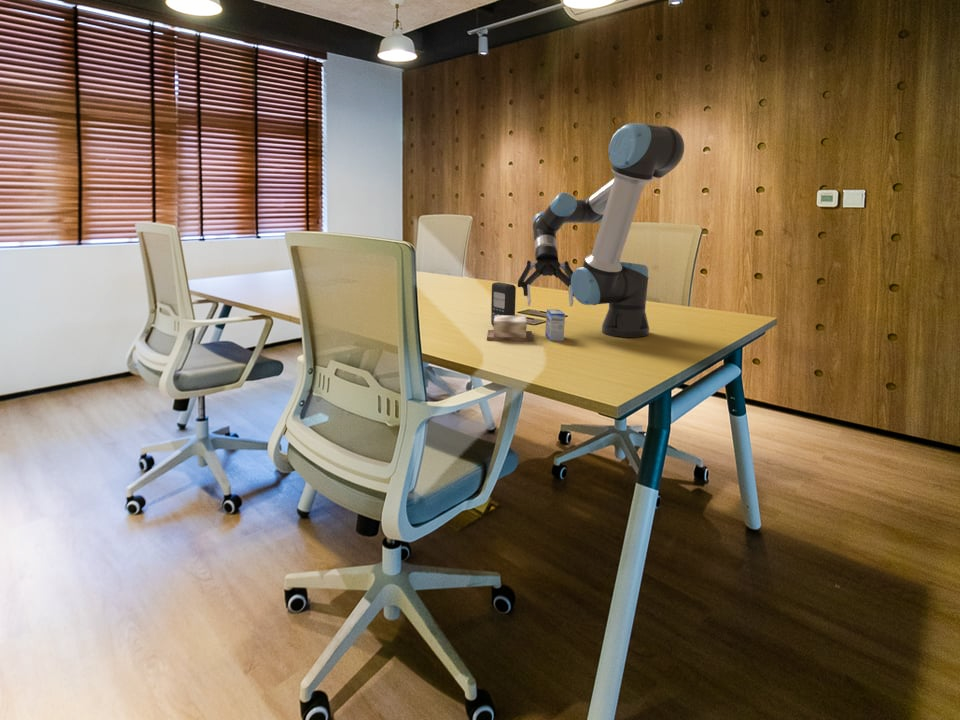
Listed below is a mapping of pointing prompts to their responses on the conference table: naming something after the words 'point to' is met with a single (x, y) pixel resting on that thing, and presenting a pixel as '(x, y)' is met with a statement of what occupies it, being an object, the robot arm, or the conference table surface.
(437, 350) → the conference table surface
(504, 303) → the card reader
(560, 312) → the medicine box
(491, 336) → the build base
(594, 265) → the robot arm
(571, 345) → the conference table surface
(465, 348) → the conference table surface
